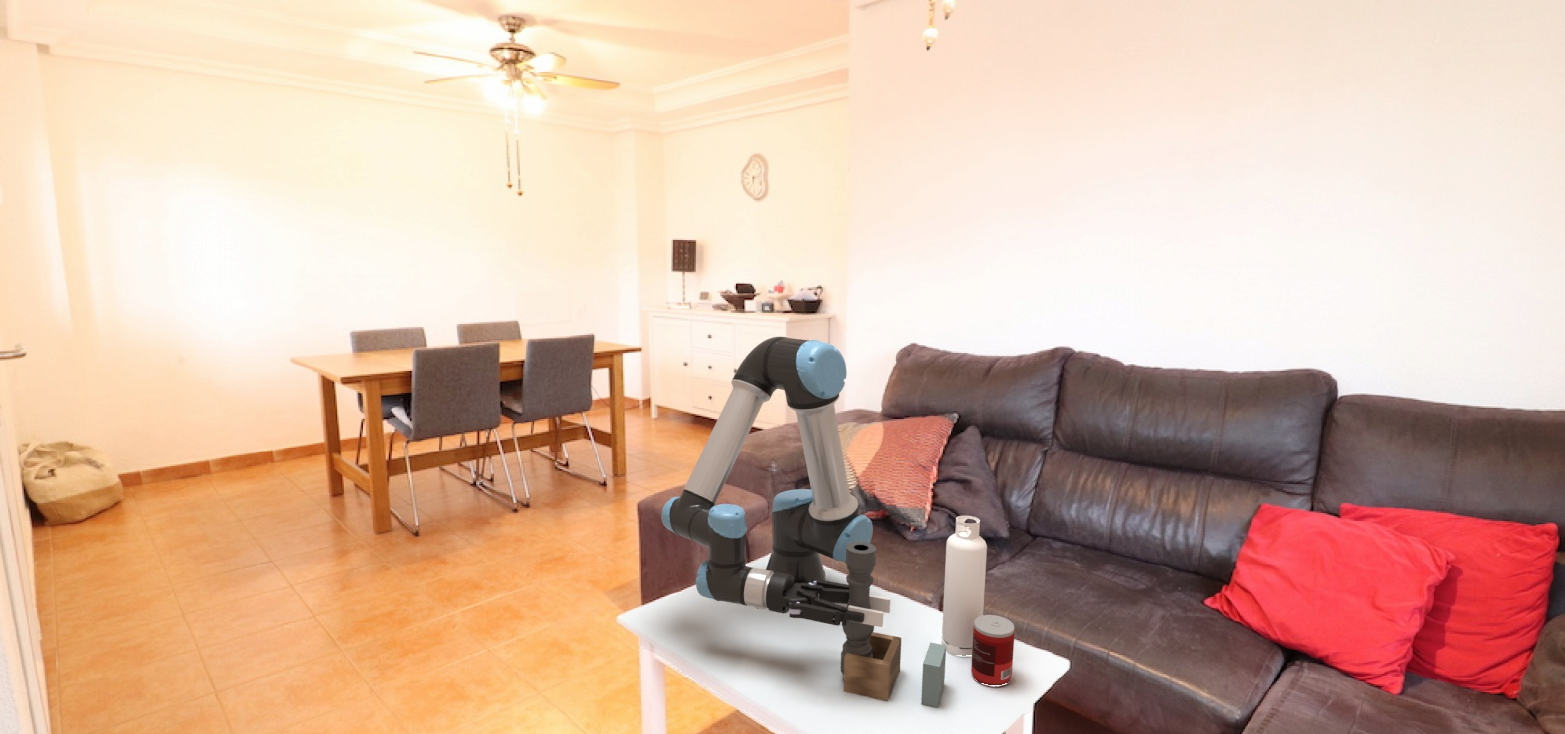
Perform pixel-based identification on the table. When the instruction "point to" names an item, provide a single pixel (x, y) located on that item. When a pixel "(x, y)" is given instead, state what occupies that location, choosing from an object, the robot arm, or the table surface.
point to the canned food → (992, 649)
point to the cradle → (874, 668)
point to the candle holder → (859, 597)
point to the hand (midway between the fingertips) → (885, 612)
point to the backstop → (933, 675)
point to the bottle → (963, 586)
